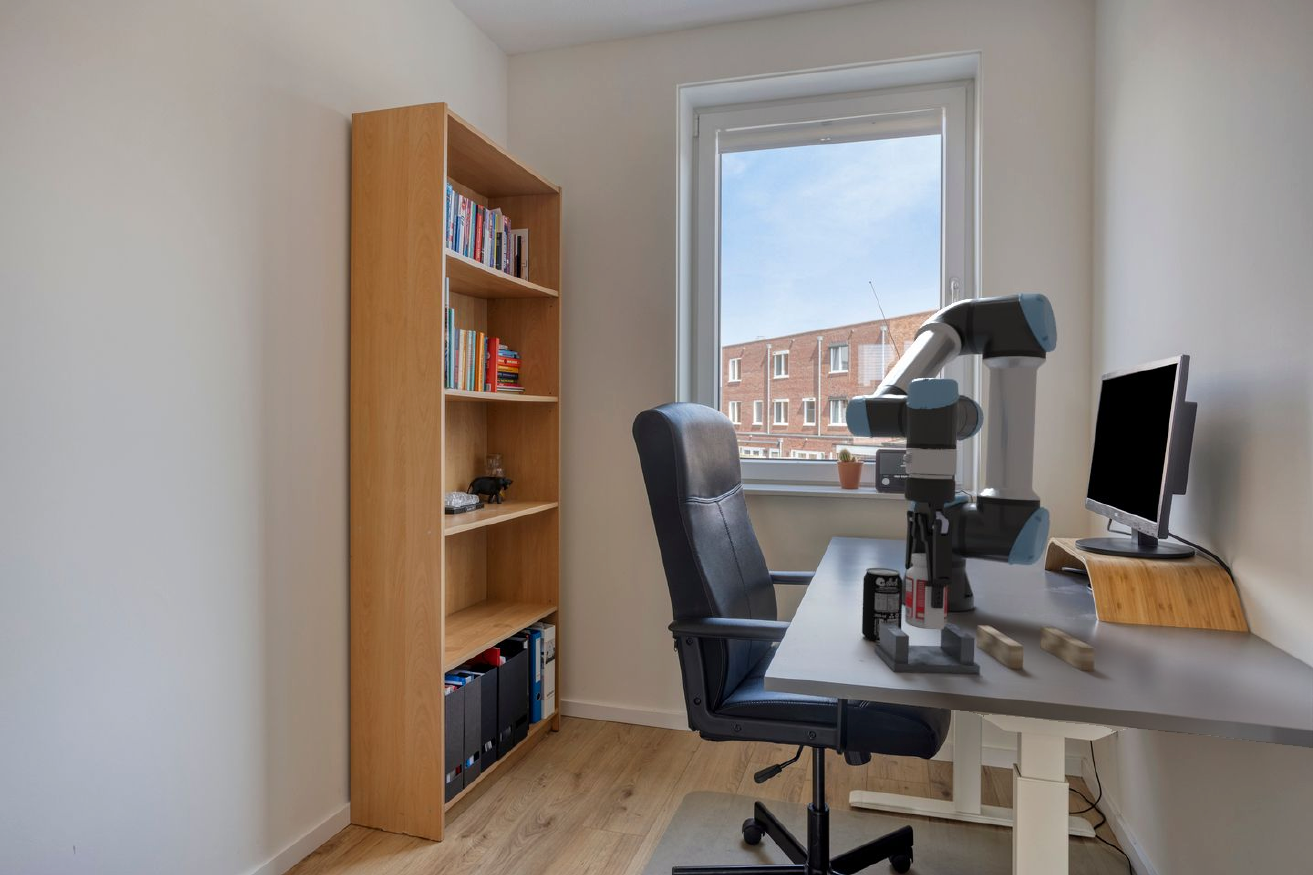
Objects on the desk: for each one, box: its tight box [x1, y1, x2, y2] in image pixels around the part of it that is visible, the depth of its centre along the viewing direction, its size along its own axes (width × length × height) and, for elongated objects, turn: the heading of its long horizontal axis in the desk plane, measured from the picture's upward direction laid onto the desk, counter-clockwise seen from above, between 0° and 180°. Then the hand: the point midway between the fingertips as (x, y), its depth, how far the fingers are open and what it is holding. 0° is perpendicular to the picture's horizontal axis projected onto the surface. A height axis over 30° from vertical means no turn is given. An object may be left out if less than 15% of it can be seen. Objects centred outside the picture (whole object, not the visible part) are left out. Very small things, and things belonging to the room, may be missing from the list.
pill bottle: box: [904, 553, 948, 630], centre depth 116 cm, size 6×6×11 cm
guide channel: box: [976, 625, 1095, 671], centre depth 121 cm, size 12×13×4 cm
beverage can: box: [861, 567, 903, 644], centre depth 130 cm, size 7×7×12 cm
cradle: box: [874, 622, 981, 675], centre depth 117 cm, size 10×13×5 cm
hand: (925, 622), depth 116 cm, fingers closed on pill bottle, 6 cm apart
